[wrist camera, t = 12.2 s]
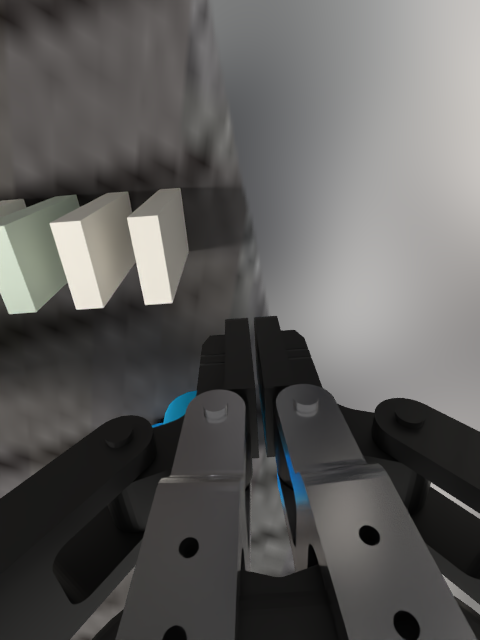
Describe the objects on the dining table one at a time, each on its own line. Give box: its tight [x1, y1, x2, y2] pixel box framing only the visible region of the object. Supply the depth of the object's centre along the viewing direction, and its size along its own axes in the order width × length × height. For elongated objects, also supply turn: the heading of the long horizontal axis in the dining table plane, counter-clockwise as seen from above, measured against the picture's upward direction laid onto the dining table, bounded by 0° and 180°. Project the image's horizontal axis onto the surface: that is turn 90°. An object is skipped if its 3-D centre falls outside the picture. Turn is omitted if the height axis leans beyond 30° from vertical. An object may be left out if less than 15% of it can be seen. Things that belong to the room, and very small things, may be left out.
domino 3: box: [127, 188, 189, 305], centre depth 24 cm, size 2×5×10 cm, turn 4°
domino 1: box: [0, 195, 80, 314], centre depth 24 cm, size 2×5×10 cm, turn 4°
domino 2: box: [50, 192, 136, 310], centre depth 24 cm, size 2×5×10 cm, turn 4°
